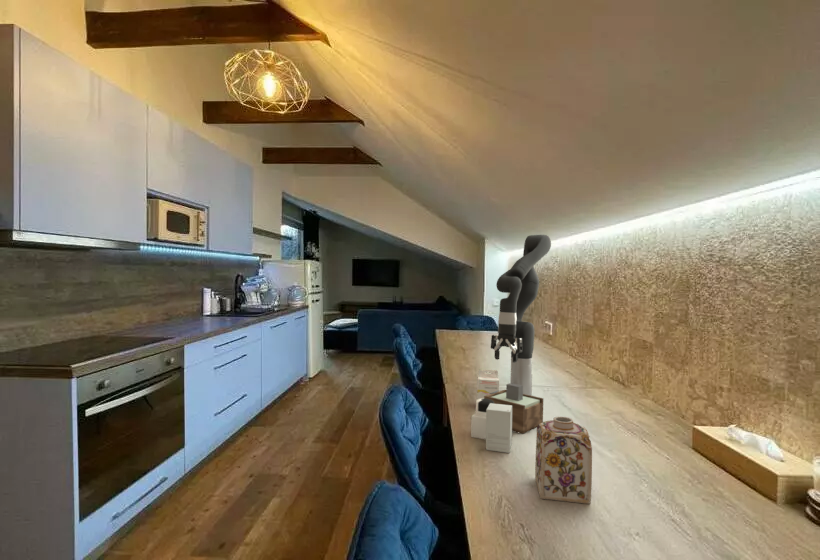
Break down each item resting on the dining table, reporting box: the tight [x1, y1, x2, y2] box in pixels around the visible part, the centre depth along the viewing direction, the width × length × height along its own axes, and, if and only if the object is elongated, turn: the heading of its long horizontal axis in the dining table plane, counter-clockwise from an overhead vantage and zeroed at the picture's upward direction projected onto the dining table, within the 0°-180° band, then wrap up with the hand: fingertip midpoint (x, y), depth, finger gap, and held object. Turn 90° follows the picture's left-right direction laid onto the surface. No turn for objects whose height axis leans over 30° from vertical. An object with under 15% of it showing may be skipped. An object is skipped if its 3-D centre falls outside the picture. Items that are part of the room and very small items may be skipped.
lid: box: [493, 382, 540, 408], centre depth 158 cm, size 11×14×6 cm
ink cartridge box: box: [476, 369, 500, 400], centre depth 178 cm, size 9×5×15 cm, turn 84°
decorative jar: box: [534, 416, 593, 505], centre depth 109 cm, size 12×12×18 cm
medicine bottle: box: [470, 398, 494, 440], centre depth 145 cm, size 7×7×12 cm
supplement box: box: [485, 403, 513, 454], centre depth 135 cm, size 7×7×13 cm
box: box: [484, 389, 544, 435], centre depth 158 cm, size 14×16×10 cm
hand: (505, 360), depth 187 cm, fingers open, 8 cm apart
